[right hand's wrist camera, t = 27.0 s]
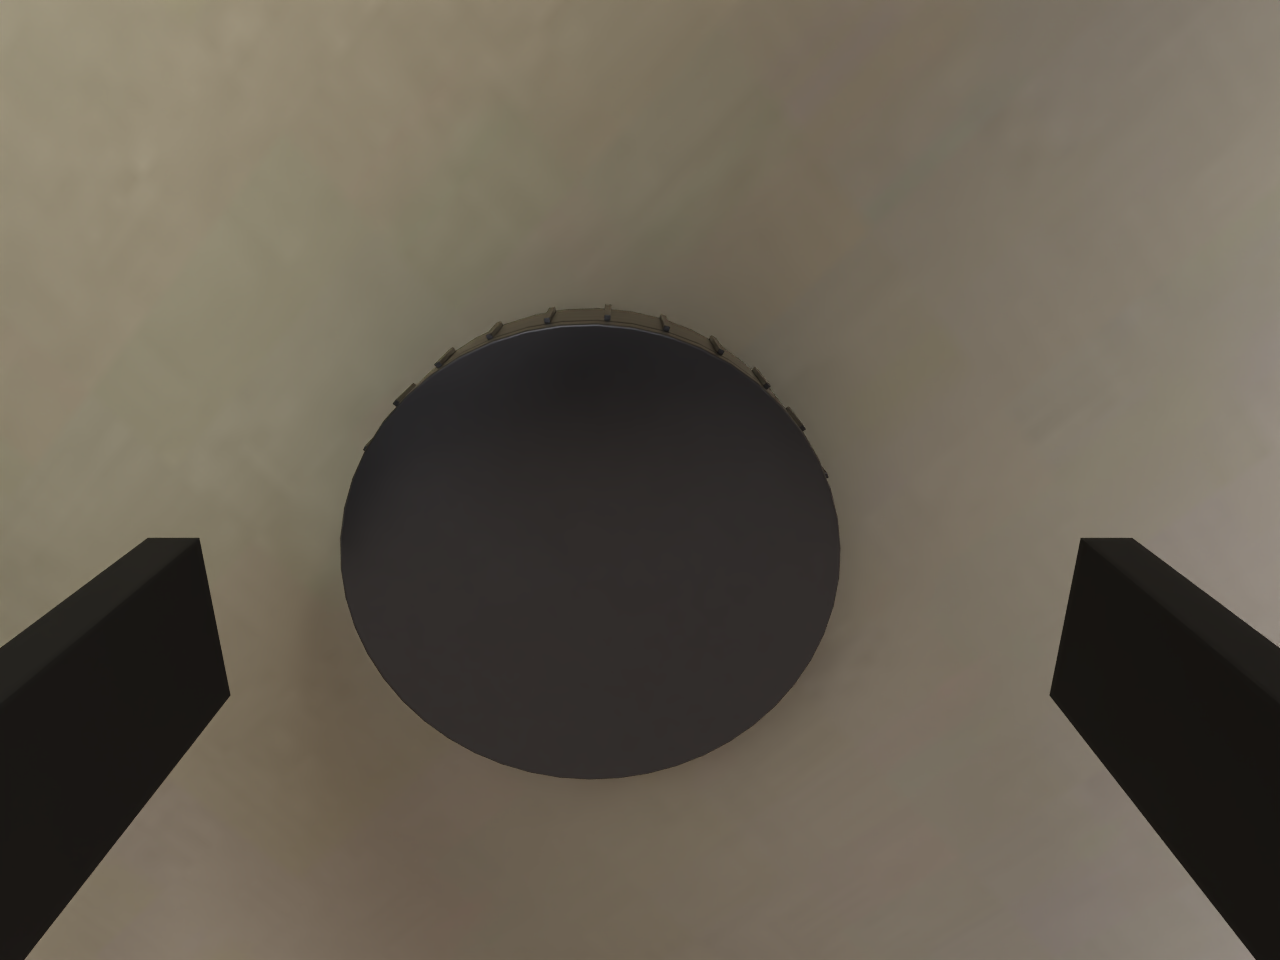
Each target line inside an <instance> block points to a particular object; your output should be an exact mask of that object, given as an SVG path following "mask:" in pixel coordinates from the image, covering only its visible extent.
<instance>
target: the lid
mask: <svg viewBox="0 0 1280 960" xmlns="http://www.w3.org/2000/svg"><path fill="white" fill-rule="evenodd" d="M434 365H435V366H436V367H435V368H434V369H433V370H432V371H431V372H429V373H428V374H427V375H426V376H425V377H424V378H423V379H422V380H421V381H420V382H419V383H418V384H417V385H416V384H414V383H413V384H412V385H411V386H410V387H409V388H408V389H407V390H406V391H405V392H403V393H402V394H401V395H400V396H399V397H398V398H397V399H396V400H395V402H394V403H393V404H394V405H395V406H396V408H395V409H394V410H393V411H392V412H391V413H390V414H389V416H388V417H387V418H386V419H385V420H384V421H383V423H382V424H381V426H380V427H379V429H378V431H377V432H376V434H375V435H374V437H373V438H372V439H371V440H370V441H369V442H368V443H367V444H366V445H365V447H364V449H363V450H364V451H365V452H364V454H363V456H362V458H361V461H360V463H359V465H358V467H357V469H356V472H355V474H354V476H353V479H352V482H351V486H350V489H349V493H348V496H347V500H346V503H345V507H344V514H343V521H342V529H341V537H340V546H341V572H342V578H343V584H344V590H345V596H346V600H347V604H348V607H349V610H350V613H351V616H352V619H353V623H354V626H355V628H356V630H357V633H358V635H359V637H360V639H361V641H362V643H363V645H364V647H365V649H366V652H367V654H368V655H369V657H370V658H371V660H372V661H373V663H374V665H375V666H376V668H377V669H378V671H379V672H380V674H381V675H382V677H383V678H384V680H385V681H386V682H387V683H388V684H389V685H390V687H391V688H392V689H393V690H394V691H395V693H396V694H397V695H398V696H399V697H400V698H401V700H402V701H403V702H404V703H405V704H406V705H408V706H409V707H410V708H411V709H412V710H413V711H414V712H415V713H416V714H417V715H418V716H419V717H421V718H422V719H423V720H424V721H425V722H426V723H428V724H429V725H431V726H432V727H433V728H435V729H436V730H438V731H439V732H440V733H442V734H443V735H445V736H446V737H447V738H449V739H451V740H452V741H454V742H456V743H458V744H460V745H461V746H463V747H465V748H467V749H469V750H470V751H472V752H474V753H476V754H479V755H481V756H484V757H486V758H488V759H491V760H493V761H496V762H498V763H500V764H503V765H507V766H510V767H514V768H517V769H521V770H524V771H528V772H531V773H537V774H543V775H549V776H554V777H561V778H577V779H607V778H622V777H629V776H635V775H642V774H648V773H652V772H655V771H659V770H663V769H667V768H670V767H674V766H677V765H680V764H683V763H685V762H688V761H690V760H693V759H695V758H698V757H700V756H703V755H705V754H707V753H709V752H711V751H713V750H715V749H716V748H718V747H720V746H722V745H724V744H726V743H728V742H730V741H731V740H733V739H734V738H735V737H737V736H738V735H740V734H741V733H743V732H744V731H746V730H747V729H749V728H750V727H751V726H753V725H754V724H755V723H756V722H758V721H759V720H760V719H761V718H762V717H763V716H764V715H765V714H767V713H768V712H769V711H770V710H771V709H772V708H773V707H775V706H776V705H777V703H778V702H779V701H780V700H781V699H782V698H783V697H784V695H785V694H786V693H787V692H788V691H789V690H790V689H791V688H792V686H793V685H794V684H795V683H796V681H797V680H798V678H799V677H800V675H801V674H802V672H803V671H804V669H805V668H806V667H807V665H808V664H809V662H810V661H811V659H812V657H813V655H814V653H815V651H816V649H817V647H818V645H819V643H820V641H821V639H822V637H823V635H824V632H825V629H826V626H827V624H828V621H829V618H830V615H831V612H832V609H833V606H834V601H835V596H836V590H837V585H838V580H839V567H840V538H839V527H838V518H837V513H836V509H835V505H834V501H833V497H832V493H831V489H830V486H829V484H828V481H827V479H826V478H828V475H827V472H826V471H825V470H824V468H823V467H822V466H821V464H820V461H819V459H818V457H817V456H816V454H815V452H814V450H813V449H812V447H811V445H810V443H809V442H808V440H807V438H806V436H805V435H804V433H803V432H802V431H804V430H805V427H804V426H803V424H802V423H801V422H800V420H799V419H798V418H797V417H796V415H795V414H794V413H793V412H792V410H791V409H790V408H789V407H787V408H786V409H785V408H784V407H783V405H782V404H781V403H780V401H779V400H778V399H777V398H776V396H775V395H774V394H773V392H772V391H771V390H770V389H769V387H770V385H769V383H768V382H767V381H766V379H765V378H764V377H763V376H762V374H761V373H760V372H759V370H758V369H757V368H755V367H754V368H753V369H752V370H751V369H750V368H749V367H748V366H747V365H746V364H745V363H743V362H742V361H741V360H739V359H738V358H737V357H735V356H734V355H732V354H731V353H730V352H728V351H727V350H726V349H724V348H723V347H722V346H721V345H720V343H719V342H718V340H717V339H716V338H715V337H713V336H711V337H710V339H707V338H706V337H704V336H702V335H700V334H698V333H696V332H695V331H693V330H690V329H688V328H685V327H683V326H680V325H677V324H675V323H672V322H669V321H668V320H667V317H666V316H665V315H662V314H661V315H660V318H657V317H652V316H648V315H644V314H639V313H635V312H631V311H620V310H611V305H605V309H600V308H597V309H569V310H561V311H556V310H555V307H551V308H549V310H548V311H547V313H544V314H538V315H533V316H530V317H527V318H524V319H520V320H517V321H514V322H511V323H508V324H505V325H502V322H498V323H496V324H495V325H494V326H493V328H492V329H491V330H490V331H489V332H487V333H485V334H483V335H481V336H479V337H477V338H475V339H473V340H472V341H470V342H469V343H467V344H466V345H464V346H463V347H461V348H460V349H458V350H456V351H455V349H454V348H451V349H450V350H449V351H448V352H446V353H445V354H444V355H443V356H442V357H441V358H440V359H439V360H438V361H437V362H436V363H435V364H434Z"/></svg>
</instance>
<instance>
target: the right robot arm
mask: <svg viewBox="0 0 1280 960" xmlns="http://www.w3.org/2000/svg"><path fill="white" fill-rule="evenodd" d="M229 697H230V691H229V686H228V681H227V676H226V671H225V666H224V661H223V655H222V650H221V645H220V640H219V635H218V630H217V625H216V620H215V615H214V610H213V605H212V600H211V595H210V590H209V585H208V580H207V575H206V570H205V565H204V559H203V554H202V549H201V544H200V539H199V538H147V539H146V540H144V541H143V542H142V543H140V544H139V545H138V546H136V547H135V548H134V549H132V550H131V551H130V552H128V553H127V554H126V555H124V556H123V557H122V558H120V559H119V560H118V561H116V562H115V563H114V564H112V565H111V566H110V567H108V568H107V569H106V570H104V571H103V572H102V573H100V574H99V575H98V576H96V577H95V578H94V579H92V580H91V581H90V582H88V583H87V584H85V585H84V586H83V587H81V588H80V589H79V590H77V591H76V592H75V593H73V594H72V595H71V596H69V597H68V598H67V599H65V600H64V601H63V602H61V603H60V604H59V605H57V606H56V607H55V608H53V609H52V610H51V611H49V612H48V613H47V614H45V615H44V616H43V617H41V618H40V619H39V620H37V621H36V622H35V623H33V624H32V625H31V626H29V627H28V628H27V629H25V630H24V631H23V632H21V633H20V634H19V635H17V636H16V637H15V638H13V639H12V640H11V641H9V642H8V643H7V644H5V645H4V646H2V647H1V648H0V960H24V959H25V958H26V957H27V955H28V954H29V953H30V952H31V950H32V949H33V948H34V946H35V945H36V944H37V943H38V941H39V940H40V939H41V938H42V936H43V935H44V934H45V932H46V931H47V930H48V929H49V927H50V926H51V925H52V923H53V922H54V921H55V920H56V918H57V917H58V916H59V914H60V913H61V912H62V911H63V909H64V908H65V907H66V905H67V904H68V903H69V902H70V900H71V899H72V898H73V896H74V895H75V894H76V893H77V891H78V890H79V889H80V888H81V886H82V885H83V884H84V882H85V881H86V880H87V879H88V877H89V876H90V875H91V873H92V872H93V871H94V870H95V868H96V867H97V866H98V864H99V863H100V862H101V861H102V859H103V858H104V857H105V855H106V854H107V853H108V852H109V850H110V849H111V848H112V846H113V845H114V844H115V843H116V841H117V840H118V839H119V838H120V836H121V835H122V834H123V832H124V831H125V830H126V829H127V827H128V826H129V825H130V823H131V822H132V821H133V820H134V818H135V817H136V816H137V814H138V813H139V812H140V811H141V809H142V808H143V807H144V805H145V804H146V803H147V802H148V800H149V799H150V798H151V797H152V795H153V794H154V793H155V791H156V790H157V789H158V788H159V786H160V785H161V784H162V782H163V781H164V780H165V779H166V777H167V776H168V775H169V773H170V772H171V771H172V770H173V768H174V767H175V766H176V764H177V763H178V762H179V761H180V759H181V758H182V757H183V755H184V754H185V753H186V752H187V750H188V749H189V748H190V747H191V745H192V744H193V743H194V741H195V740H196V739H197V738H198V736H199V735H200V734H201V732H202V731H203V730H204V729H205V727H206V726H207V725H208V723H209V722H210V721H211V720H212V718H213V717H214V716H215V714H216V713H217V712H218V711H219V709H220V708H221V707H222V705H223V704H224V703H225V702H226V700H227V699H228V698H229ZM1050 697H1051V698H1052V699H1053V700H1054V702H1055V703H1056V704H1057V705H1058V707H1059V708H1060V709H1061V711H1062V712H1063V713H1064V714H1065V716H1066V717H1067V718H1068V720H1069V721H1070V722H1071V723H1072V725H1073V726H1074V727H1075V729H1076V730H1077V731H1078V732H1079V734H1080V735H1081V736H1082V738H1083V739H1084V740H1085V741H1086V743H1087V744H1088V745H1089V747H1090V748H1091V749H1092V750H1093V752H1094V753H1095V754H1096V755H1097V757H1098V758H1099V759H1100V761H1101V762H1102V763H1103V764H1104V766H1105V767H1106V768H1107V770H1108V771H1109V772H1110V773H1111V775H1112V776H1113V777H1114V779H1115V780H1116V781H1117V782H1118V784H1119V785H1120V786H1121V788H1122V789H1123V790H1124V791H1125V793H1126V794H1127V795H1128V796H1129V798H1130V799H1131V800H1132V802H1133V803H1134V804H1135V805H1136V807H1137V808H1138V809H1139V811H1140V812H1141V813H1142V814H1143V816H1144V817H1145V818H1146V820H1147V821H1148V822H1149V823H1150V825H1151V826H1152V827H1153V829H1154V830H1155V831H1156V832H1157V834H1158V835H1159V836H1160V838H1161V839H1162V840H1163V841H1164V843H1165V844H1166V845H1167V846H1168V848H1169V849H1170V850H1171V852H1172V853H1173V854H1174V855H1175V857H1176V858H1177V859H1178V861H1179V862H1180V863H1181V864H1182V866H1183V867H1184V868H1185V870H1186V871H1187V872H1188V873H1189V875H1190V876H1191V877H1192V879H1193V880H1194V881H1195V882H1196V884H1197V885H1198V886H1199V888H1200V889H1201V890H1202V891H1203V893H1204V894H1205V895H1206V896H1207V898H1208V899H1209V900H1210V902H1211V903H1212V904H1213V905H1214V907H1215V908H1216V909H1217V911H1218V912H1219V913H1220V914H1221V916H1222V917H1223V918H1224V920H1225V921H1226V922H1227V923H1228V925H1229V926H1230V927H1231V929H1232V930H1233V931H1234V932H1235V934H1236V935H1237V936H1238V938H1239V939H1240V940H1241V941H1242V943H1243V944H1244V945H1245V946H1246V948H1247V949H1248V950H1249V952H1250V953H1251V954H1252V955H1253V957H1254V958H1255V959H1256V960H1280V648H1279V647H1278V646H1276V645H1275V644H1273V643H1272V642H1271V641H1269V640H1268V639H1267V638H1265V637H1264V636H1263V635H1261V634H1260V633H1259V632H1257V631H1256V630H1255V629H1253V628H1252V627H1251V626H1249V625H1248V624H1247V623H1245V622H1244V621H1243V620H1241V619H1240V618H1239V617H1237V616H1236V615H1235V614H1233V613H1232V612H1231V611H1229V610H1228V609H1227V608H1225V607H1224V606H1223V605H1221V604H1220V603H1219V602H1217V601H1216V600H1215V599H1213V598H1212V597H1211V596H1209V595H1208V594H1207V593H1205V592H1204V591H1203V590H1201V589H1200V588H1199V587H1197V586H1196V585H1195V584H1193V583H1192V582H1190V581H1189V580H1188V579H1186V578H1185V577H1184V576H1182V575H1181V574H1180V573H1178V572H1177V571H1176V570H1174V569H1173V568H1172V567H1170V566H1169V565H1168V564H1166V563H1165V562H1164V561H1162V560H1161V559H1160V558H1158V557H1157V556H1156V555H1154V554H1153V553H1152V552H1150V551H1149V550H1148V549H1146V548H1145V547H1144V546H1142V545H1141V544H1140V543H1138V542H1137V541H1136V540H1134V539H1133V538H1081V539H1080V544H1079V549H1078V554H1077V560H1076V565H1075V570H1074V575H1073V580H1072V585H1071V590H1070V595H1069V600H1068V605H1067V610H1066V615H1065V620H1064V625H1063V630H1062V635H1061V640H1060V645H1059V650H1058V656H1057V661H1056V666H1055V671H1054V676H1053V681H1052V686H1051V691H1050Z"/></svg>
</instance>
